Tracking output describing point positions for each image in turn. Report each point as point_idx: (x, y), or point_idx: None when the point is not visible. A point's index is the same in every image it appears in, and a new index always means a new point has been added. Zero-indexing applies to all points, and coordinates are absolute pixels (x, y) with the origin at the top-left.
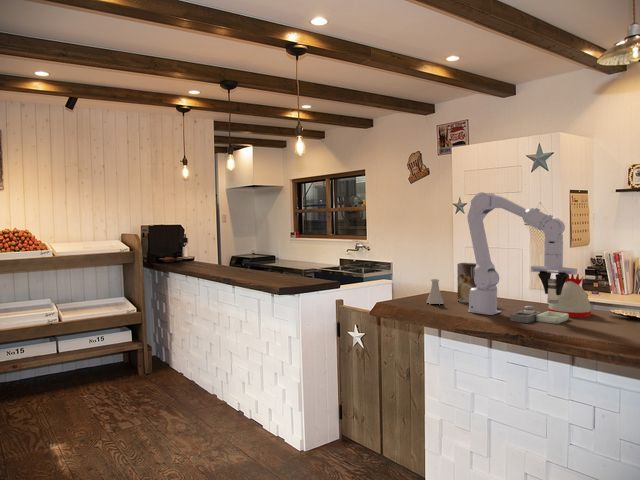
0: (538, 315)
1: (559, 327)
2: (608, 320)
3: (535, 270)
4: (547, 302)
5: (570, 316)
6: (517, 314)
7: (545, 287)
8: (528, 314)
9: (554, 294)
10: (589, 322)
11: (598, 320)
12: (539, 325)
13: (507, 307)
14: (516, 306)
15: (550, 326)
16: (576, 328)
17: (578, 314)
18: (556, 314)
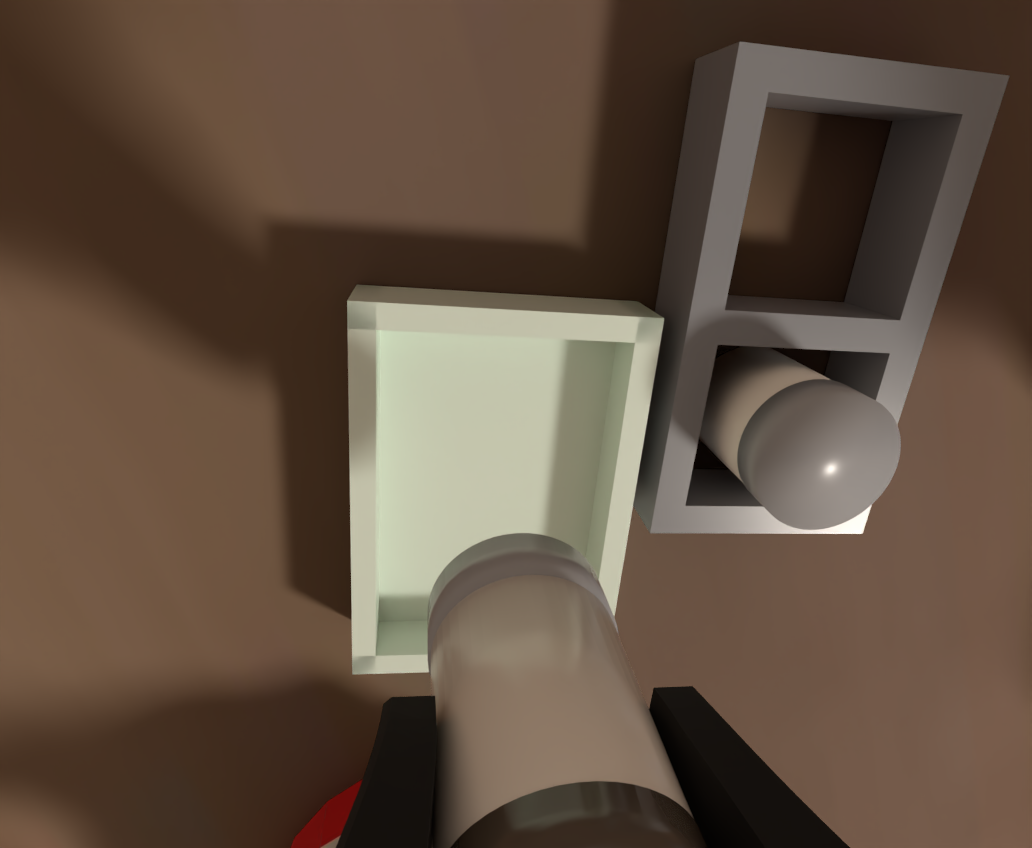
0: (630, 314)
1: (241, 56)
2: (38, 830)
3: None
4: (593, 569)
5: None
6: (901, 260)
7: (760, 807)
8: (766, 311)
9: (478, 680)
10: (121, 628)
11: (108, 773)
12: (517, 9)
13: (1011, 765)
14: (940, 845)
15: (368, 43)
16: (32, 153)
17: (334, 820)
18: None
